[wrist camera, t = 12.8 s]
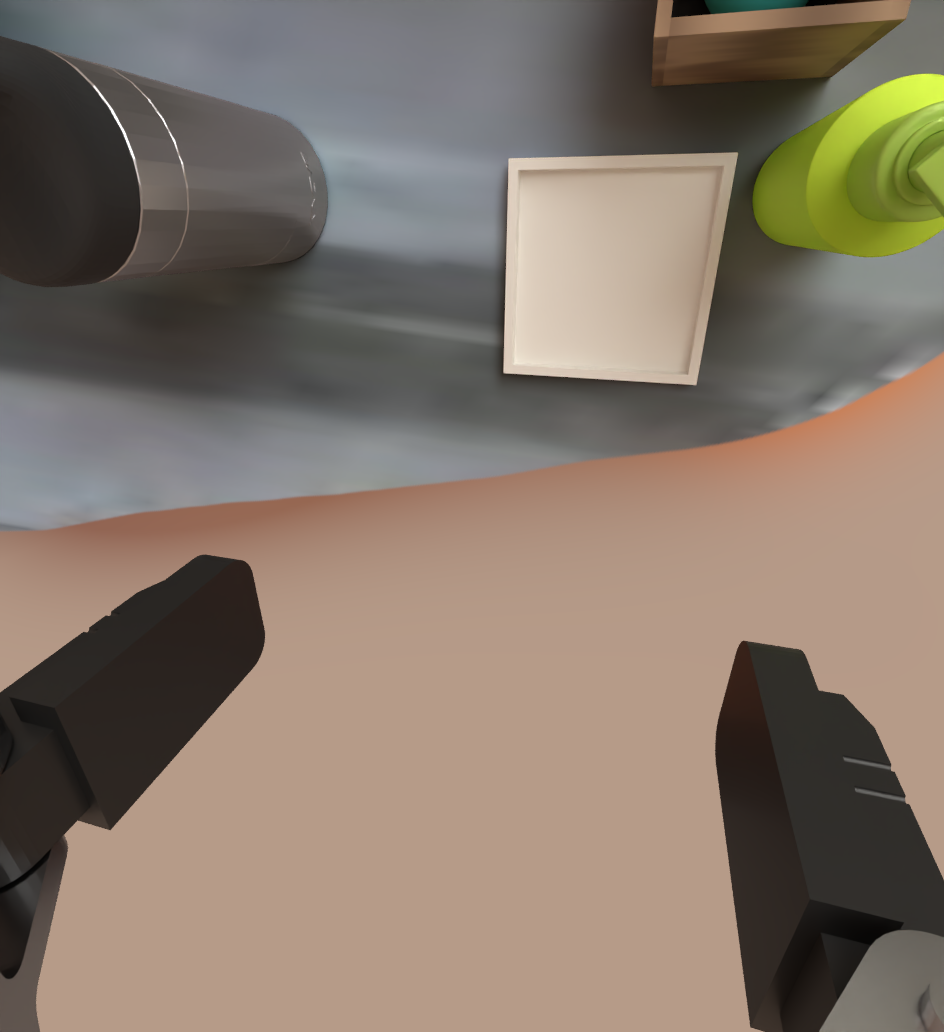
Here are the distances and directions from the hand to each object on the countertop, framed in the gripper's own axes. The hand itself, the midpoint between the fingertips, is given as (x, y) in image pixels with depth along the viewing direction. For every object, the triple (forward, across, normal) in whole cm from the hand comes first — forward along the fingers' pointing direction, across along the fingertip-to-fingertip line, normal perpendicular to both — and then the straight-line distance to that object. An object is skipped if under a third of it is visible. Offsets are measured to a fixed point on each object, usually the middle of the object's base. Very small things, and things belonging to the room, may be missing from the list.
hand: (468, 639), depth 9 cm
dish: (+34, 0, -3) cm, 34 cm away
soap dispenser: (+34, -11, -8) cm, 37 cm away
